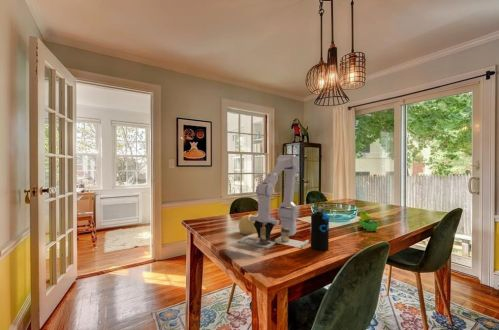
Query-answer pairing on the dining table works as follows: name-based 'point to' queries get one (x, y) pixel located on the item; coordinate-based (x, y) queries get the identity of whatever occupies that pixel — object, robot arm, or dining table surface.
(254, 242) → the pin block
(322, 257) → the dining table surface
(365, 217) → the green lumpy piece
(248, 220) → the sculpture
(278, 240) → the flanged base plate
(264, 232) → the banded peg
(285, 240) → the plain peg
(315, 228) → the aerosol can
